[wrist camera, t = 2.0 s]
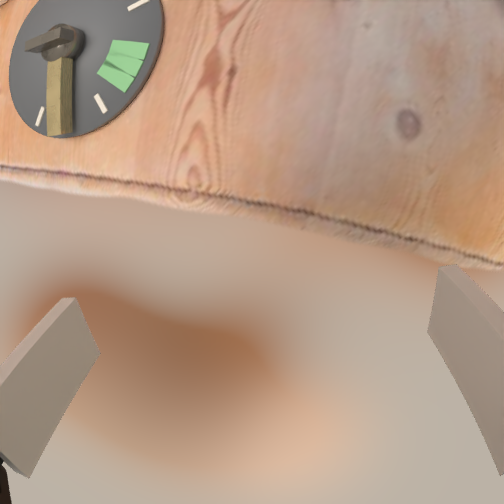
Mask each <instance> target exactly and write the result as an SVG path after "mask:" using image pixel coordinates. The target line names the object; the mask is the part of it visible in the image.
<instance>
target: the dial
mask: <svg viewBox="0 0 504 504" xmlns="http://www.w3.org/2000/svg"><path fill="white" fill-rule="evenodd" d="M57 24H67V25H70V26H73V27H76V28H79V29H81V30H82V31H83V32H84V34H85V45H84V48H83V50H82V52H81V53H80V55H79V56H78V57H77V58H76V59H75V60H74V61H73V69H72V130H73V132H72V133H66V134H61V135H55V136H50V137H54V138H67V137H74V136H79V135H83V134H87V133H89V132H92V131H94V130H96V129H98V128H100V127H102V126H104V125H105V124H107V123H108V122H110V121H111V120H113V119H114V118H115V117H116V116H118V115H119V114H120V113H121V112H122V111H123V110H124V109H125V108H126V107H127V106H128V105H129V104H130V103H131V102H132V101H133V100H134V98H135V97H136V96H137V94H138V93H139V92H140V90H141V89H142V87H143V86H144V84H145V83H146V81H147V79H148V78H149V76H150V74H151V72H152V70H153V68H154V66H155V63H156V60H157V58H158V55H159V52H160V48H161V44H162V40H163V32H164V14H163V8H162V4H161V1H160V0H39V1H38V2H37V3H36V5H35V6H34V7H33V9H32V10H31V11H30V13H29V14H28V16H27V17H26V19H25V21H24V22H23V24H22V26H21V28H20V30H19V33H18V35H17V37H16V40H15V43H14V46H13V49H12V54H11V59H10V66H9V85H10V92H11V97H12V100H13V103H14V106H15V108H16V110H17V112H18V114H19V115H20V117H21V118H22V119H23V121H24V122H25V123H26V124H27V125H28V126H29V127H30V128H32V129H33V130H35V131H36V132H38V133H40V134H42V135H45V136H47V109H46V94H47V65H48V61H46V60H44V59H43V57H42V55H41V53H32V52H24V51H25V41H28V40H30V39H32V38H34V37H37V36H39V35H41V34H44V33H46V32H48V31H49V30H50V29H51V28H52V27H53V26H55V25H57Z"/></svg>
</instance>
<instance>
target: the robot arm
mask: <svg viewBox="0 0 504 504" xmlns="http://www.w3.org/2000/svg"><path fill="white" fill-rule="evenodd" d="M428 334H429V335H430V337H431V339H432V340H433V342H434V344H435V345H436V347H437V349H438V351H439V352H440V354H441V356H442V357H443V359H444V361H445V363H446V365H447V366H448V368H449V370H450V372H451V374H452V375H453V377H454V379H455V381H456V383H457V384H458V387H459V388H460V390H461V392H462V394H463V396H464V398H465V400H466V402H467V404H468V405H469V408H470V410H471V412H472V414H473V416H474V418H475V420H476V422H477V424H478V426H479V428H480V431H481V433H482V435H483V437H484V439H485V441H486V444H487V446H488V448H489V450H490V453H491V455H492V457H493V460H494V462H495V464H496V467H497V470H498V472H499V475H500V476H501V475H503V474H504V312H503V311H502V310H501V309H500V307H499V306H498V305H497V304H496V303H495V302H494V301H493V300H492V299H491V298H490V297H489V296H488V295H487V294H486V293H485V292H484V291H483V290H482V289H481V288H480V287H479V286H478V285H477V284H476V283H475V282H474V281H473V280H472V279H471V278H470V277H469V276H468V275H467V274H466V273H465V272H464V271H463V270H462V269H461V268H460V267H459V266H458V265H457V264H455V265H448V266H440V267H439V269H438V276H437V283H436V289H435V296H434V301H433V306H432V312H431V318H430V322H429V327H428ZM99 355H100V351H99V349H98V347H97V345H96V343H95V341H94V338H93V336H92V334H91V332H90V330H89V327H88V325H87V323H86V320H85V318H84V316H83V314H82V311H81V309H80V306H79V304H78V301H77V299H76V298H62V299H61V300H60V301H59V302H58V303H57V304H56V305H55V306H54V307H53V308H52V309H51V310H50V311H49V312H48V313H47V314H46V315H45V316H44V317H43V319H42V320H41V321H40V322H39V323H38V324H37V325H36V326H35V327H34V328H33V329H32V330H31V332H30V333H29V334H28V335H27V336H26V337H25V338H24V339H23V340H22V341H21V343H20V344H19V345H18V346H17V347H16V348H15V349H14V351H13V352H12V353H11V354H10V355H9V356H8V358H7V359H6V360H5V361H4V362H3V364H2V365H1V366H0V504H12V503H11V497H10V492H9V485H8V478H7V472H6V470H5V468H4V467H3V466H2V463H3V461H4V462H6V463H7V464H8V465H9V466H10V467H11V468H12V469H13V470H14V471H15V472H17V473H19V474H21V475H23V476H25V477H27V478H30V476H31V474H32V472H33V470H34V468H35V466H36V464H37V462H38V460H39V458H40V457H41V455H42V453H43V451H44V449H45V447H46V445H47V443H48V442H49V440H50V438H51V436H52V434H53V432H54V431H55V429H56V427H57V425H58V423H59V422H60V420H61V418H62V416H63V415H64V413H65V411H66V409H67V408H68V406H69V404H70V403H71V401H72V399H73V398H74V396H75V394H76V392H77V391H78V389H79V387H80V386H81V384H82V382H83V381H84V379H85V378H86V376H87V374H88V373H89V371H90V369H91V368H92V366H93V365H94V363H95V361H96V360H97V358H98V357H99Z"/></svg>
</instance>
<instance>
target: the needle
mask: <svg viewBox="0 0 504 504" xmlns="http://www.w3.org/2000/svg"><path fill="white" fill-rule="evenodd" d="M84 45H85V34H84V32H83V31H82V30H81V29H79V28H76V27H73V26H70V25H67V24H57V25H55V26H53V27H52V28H51V29H50V30H49V31H48V32H46V33H44V34H41V35H39V36H37V37H34V38H32V39H30V40H28V41H25V51H24V52H32V53H41V55H42V57H43V59H44V60H46V61H48V65H47V94H46V109H47V137H50V136H55V135H61V134H66V133H72V132H73V130H72V69H73V61H74V60H75V59H76V58H77V57H78V56H79V55H80V53H81V52H82V50H83V48H84Z"/></svg>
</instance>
